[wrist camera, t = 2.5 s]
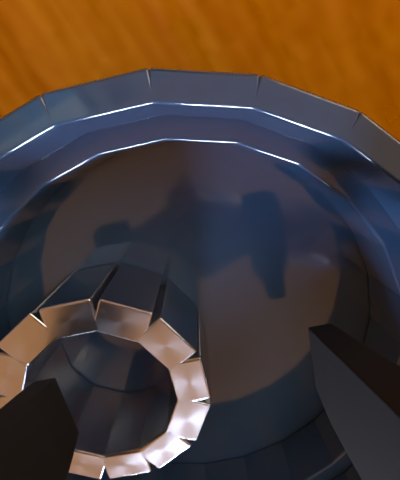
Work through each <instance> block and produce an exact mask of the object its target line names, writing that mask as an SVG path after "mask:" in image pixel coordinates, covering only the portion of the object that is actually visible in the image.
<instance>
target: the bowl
mask: <svg viewBox="0 0 400 480" xmlns="http://www.w3.org/2000/svg"><path fill="white" fill-rule="evenodd" d="M113 263H114V264H116V266H117V270H118V269H119V268H120V266H121V265H122V264H127V265H131V266H134V267H138V268H141V269H145V270H148V271H152V272H155V273H159V274H162V275H163V278H162V282H161V284H162V283H163V282H165V281H166V280H167V279H170V280H171V281H172V282H173V283H174V284H175V285H177V286H178V287H179V288H180V289H181V290H182V291H183V292H184V293H185V294H186V295H187V296H188V297H189V298H190V299H191V300H192V301H193V302H194V303H195V304H196V311H199V312H200V313H201V317H202V321H203V325H204V329H205V334H206V338H207V342H208V353H209V369H210V384H211V398H210V400H211V406H210V408H209V411H208V413H207V416H206V418H205V421H204V423H203V426H202V428H201V430H200V433H199V435H198V438H197V440H196V441H194V440H191V446H190V447H189V448H188V449H186V450H185V451H184V452H182V453H181V454H179V455H178V456H177V457H175V458H174V459H172V460H171V461H170V462H168V463H167V464H165V465H164V466H163V467H161V468H156V467H155V466H154V465H153V466H152V470H151V472H148V473H143V474H137V475H131V476H126V477H120V478H114V479H109V478H108V476H107V473H106V471H104V474H103V477H102V478H101V479H95V478H90V477H86V476H81V475H76V474H71V473H68V476H67V479H66V480H362V479H361V477H360V476H359V474H358V472H357V470H356V468H355V467H354V465H353V463H352V461H351V459H350V458H349V456H348V454H347V452H346V450H345V449H344V447H343V445H342V443H341V441H340V439H339V438H338V436H337V434H336V432H335V430H334V428H333V427H332V424H331V422H330V420H329V418H328V415H327V413H326V411H325V408H324V406H323V404H322V401H321V399H320V396H319V394H318V392H317V389H316V385H315V377H314V370H313V362H312V354H311V346H310V339H309V331H308V328H309V327H314V326H319V325H324V324H329V323H331V324H333V325H334V326H336V327H338V328H339V329H341V330H342V331H344V332H345V333H347V334H349V335H350V336H352V337H353V338H355V339H356V340H358V341H360V342H361V343H363V344H364V345H366V346H368V347H369V348H371V349H372V350H374V351H376V352H377V353H379V354H381V355H382V356H384V357H386V358H387V359H389V360H391V361H392V362H394V363H396V364H397V365H399V366H400V141H398V140H397V139H396V138H394V137H393V136H392V135H391V134H389V133H388V132H387V131H385V130H384V129H383V128H382V127H380V126H379V125H378V124H376V123H375V122H374V121H373V120H371V119H370V118H369V117H367V116H366V115H365V114H364V113H361V112H360V113H359V111H358V110H356V109H354V108H351V107H348V106H346V105H343V104H340V103H337V102H335V101H332V100H329V99H327V98H324V97H321V96H318V95H316V94H313V93H310V92H308V91H305V90H302V89H299V88H297V87H294V86H291V85H289V84H286V83H283V82H281V81H278V80H275V79H272V78H270V77H267V76H264V75H261V76H260V77H259V75H257V74H251V73H233V72H216V71H199V70H181V69H164V68H150V69H149V70H148V69H146V68H144V69H140V70H136V71H131V72H127V73H123V74H119V75H115V76H111V77H107V78H102V79H98V80H94V81H90V82H86V83H82V84H78V85H73V86H69V87H65V88H61V89H57V90H53V91H49V92H44V93H43V94H42V95H39V96H36V97H35V98H33V99H31V100H30V101H28V102H27V103H25V104H23V105H22V106H20V107H18V108H17V109H15V110H13V111H12V112H10V113H8V114H7V115H5V116H3V117H2V118H0V340H1V339H2V338H3V337H4V336H5V335H6V334H7V333H8V332H9V331H10V330H11V329H12V328H13V327H14V326H15V325H16V324H18V323H19V322H20V321H21V320H22V319H23V318H24V317H25V316H26V315H27V314H28V313H29V312H30V311H31V310H32V309H33V308H34V307H35V306H36V305H37V304H38V303H39V302H40V301H41V300H42V299H43V298H44V297H45V296H47V295H48V294H49V293H50V292H51V291H52V290H53V289H54V288H55V287H56V286H57V285H58V284H59V283H60V282H61V281H62V280H63V279H64V278H66V277H67V276H68V275H69V274H70V275H71V276H72V275H73V274H74V273H75V272H76V271H80V270H84V269H89V268H94V267H98V266H103V265H108V264H113ZM61 343H62V346H63V348H64V350H65V353H66V355H67V358H68V360H69V363H70V365H71V368H73V369H74V370H75V371H76V372H78V373H79V374H80V375H81V376H82V377H84V378H85V379H86V380H87V381H89V382H90V383H91V384H92V385H94V386H99V387H103V388H107V389H111V390H115V391H119V392H123V393H124V392H129V391H135V390H140V389H145V388H150V387H152V386H154V385H155V384H156V383H157V382H159V381H160V380H161V379H162V378H164V377H165V376H166V375H168V374H169V371H168V368H166V367H165V366H164V365H163V364H162V363H161V362H160V361H159V360H157V359H156V358H155V357H154V356H153V355H152V354H151V353H149V352H148V351H147V350H146V349H145V348H144V347H143V346H141V345H140V344H139V343H138V342H134V341H130V340H126V339H123V338H119V337H115V336H111V335H107V334H104V333H100V332H91V333H86V334H81V335H76V336H71V337H66V338H62V340H61Z"/></svg>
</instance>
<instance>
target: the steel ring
mask: <svg viewBox="0 0 400 480" xmlns="http://www.w3.org/2000/svg"><path fill="white" fill-rule="evenodd" d="M162 278H163V275H162V274H159V273H155V272H152V271H148V270H145V269H141V268H138V267H134V266H131V265H127V264H122V265H121V266H120V268H119V269H118V270H117V266H116V264H114V263H113V264H108V265H103V266H98V267H94V268H89V269H84V270H80V271H76V272H75V273H74V274H73V275H72V276H71V275H70V274H69V275H68V276H67V277H66V278H64V279H63V280H62V281H61V282H60V283H59V284H58V285H57V286H56V287H55V288H54V289H53V290H52V291H51V292H50V293H49V294H48V295H47V296H45V297H44V298H43V299H42V300H41V301H40V302H39V303H38V304H37V305H36V306H35V307H34V308H33V309H32V310H31V311H30V312H29V313H28V314H27V315H26V316H25V317H24V318H23V319H22V320H21V321H20V322H19V323H18V324H16V325H15V326H14V327H13V328H12V329H11V330H10V331H9V332H8V333H7V334H6V335H5V336H4V337H3V338H2V339H1V340H0V409H1V408H2V407H3V406H4V405H5V404H7V403H8V402H9V401H10V400H11V399H13V398H14V397H15V396H16V395H18V394H19V393H20V392H21V391H23V390H24V389H25V388H26V387H28V386H29V385H31V384H32V383H33V382H35V381H40V380H45V379H50V378H56V381H57V383H58V385H59V388H60V390H61V392H62V395H63V397H64V399H65V401H66V404H67V406H68V408H69V411H70V413H71V415H72V418H73V420H74V422H75V425H76V427H77V429H78V432H79V434H78V438H77V442H76V447H75V451H74V455H73V459H72V462H71V466H70V470H69V473H71V474H76V475H81V476H86V477H90V478H95V479H101V478H102V477H103V474H104V471H106V473H107V476H108V478H109V479H114V478H120V477H126V476H131V475H137V474H143V473H148V472H151V470H152V466H153V465H154V466H155V467H156V468H161V467H163V466H164V465H165V464H167V463H168V462H170V461H171V460H172V459H174V458H175V457H177V456H178V455H179V454H181V453H182V452H184V451H185V450H186V449H188V448H189V447H190V446H191V440H194V441H196V440H197V438H198V435H199V433H200V430H201V428H202V426H203V423H204V421H205V418H206V416H207V413H208V411H209V408H210V406H211V400H210V398H211V384H210V369H209V353H208V342H207V338H206V334H205V329H204V325H203V321H202V317H201V313H200V312H199V311H196V304H195V303H194V302H193V301H192V300H191V299H190V298H189V297H188V296H187V295H186V294H185V293H184V292H183V291H182V290H181V289H180V288H179V287H178V286H177V285H175V284H174V283H173V282H172V281H171V280H170V279H167V280H166V281H165V282H163V283H162V284H161V282H162ZM91 332H100V333H104V334H107V335H111V336H115V337H119V338H123V339H126V340H130V341H134V342H138V343H139V344H140V345H141V346H143V347H144V348H145V349H146V350H147V351H148V352H149V353H151V354H152V355H153V356H154V357H155V358H156V359H157V360H159V361H160V362H161V363H162V364H163V365H164V366H165V367H166V368H168V371H169V374H168V375H166V376H165V377H164V378H162V379H161V380H160V381H159V382H157V383H156V384H155V385H154V386H152V387H150V388H145V389H140V390H135V391H129V392H124V393H123V392H119V391H115V390H111V389H107V388H103V387H99V386H94V385H92V384H91V383H90V382H89V381H87V380H86V379H85V378H84V377H82V376H81V375H80V374H79V373H78V372H76V371H75V370H74V369H73V368H71V365H70V363H69V360H68V358H67V355H66V353H65V350H64V348H63V346H62V343H61V340H62V338H66V337H71V336H76V335H81V334H86V333H91Z"/></svg>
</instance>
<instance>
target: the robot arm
mask: <svg viewBox="0 0 400 480" xmlns="http://www.w3.org/2000/svg"><path fill="white" fill-rule="evenodd" d="M308 331H309V339H310V346H311V354H312V362H313V370H314V377H315V385H316V389H317V392H318V394H319V396H320V399H321V401H322V404H323V406H324V408H325V411H326V413H327V415H328V418H329V420H330V422H331V424H332V427H333V428H334V430H335V432H336V434H337V436H338V438H339V439H340V441H341V443H342V445H343V447H344V449H345V450H346V452H347V454H348V456H349V458H350V459H351V461H352V463H353V465H354V467H355V468H356V470H357V472H358V474H359V476H360V477H361V479H362V480H400V366H399V365H397V364H396V363H394V362H392V361H391V360H389V359H387V358H386V357H384V356H382V355H381V354H379V353H377V352H376V351H374V350H372V349H371V348H369V347H368V346H366V345H364V344H363V343H361V342H360V341H358V340H356V339H355V338H353V337H352V336H350V335H349V334H347V333H345V332H344V331H342V330H341V329H339V328H338V327H336V326H334V325H333V324H331V323H329V324H324V325H319V326H314V327H309V328H308ZM78 434H79V432H78V429H77V427H76V425H75V422H74V420H73V418H72V415H71V413H70V411H69V408H68V406H67V404H66V401H65V399H64V397H63V395H62V392H61V390H60V388H59V385H58V383H57V381H56V378H50V379H45V380H40V381H35V382H33V383H32V384H31V385H29V386H28V387H26V388H25V389H24V390H23V391H21V392H20V393H19V394H18V395H16V396H15V397H14V398H13V399H11V400H10V401H9V402H8V403H7V404H5V405H4V406H3V407H2V408H1V409H0V480H66V479H67V476H68V473H69V470H70V466H71V462H72V459H73V455H74V451H75V447H76V442H77V438H78Z"/></svg>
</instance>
